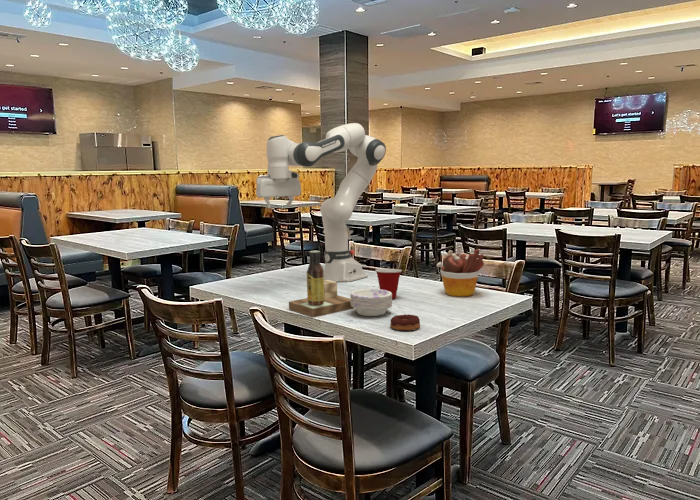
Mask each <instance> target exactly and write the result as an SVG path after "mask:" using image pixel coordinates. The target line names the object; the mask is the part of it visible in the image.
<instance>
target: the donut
mask: <svg viewBox="0 0 700 500" xmlns="http://www.w3.org/2000/svg"><path fill="white" fill-rule="evenodd" d="M389 325H390V328H391V329H393V330H397V331H402V332H410V331H415V330H417V329H418V328H420V327H421V322H420V318H419V316H418V315H415V314H399V315H393V317H391V319H390V323H389Z"/></svg>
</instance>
